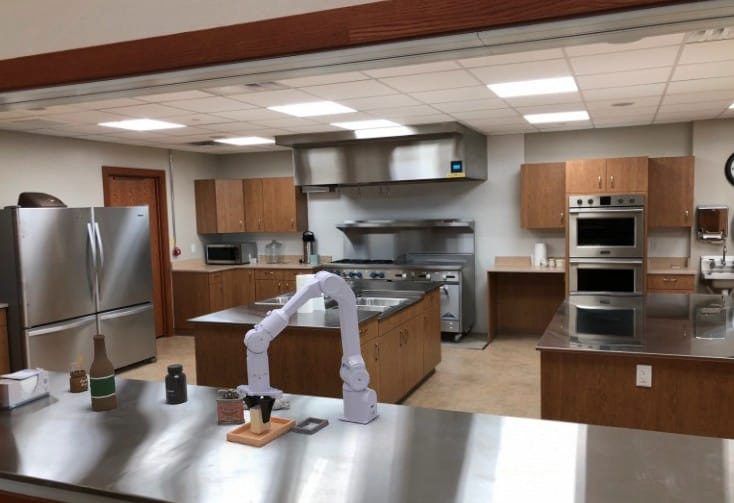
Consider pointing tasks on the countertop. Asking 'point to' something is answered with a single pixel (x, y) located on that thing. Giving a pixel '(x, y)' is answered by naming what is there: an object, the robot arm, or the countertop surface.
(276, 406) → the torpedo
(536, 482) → the countertop surface
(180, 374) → the supplement bottle
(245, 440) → the parts tray
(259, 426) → the tan rectangular block
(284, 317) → the robot arm
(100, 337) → the beer bottle
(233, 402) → the lighter
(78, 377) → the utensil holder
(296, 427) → the socket
